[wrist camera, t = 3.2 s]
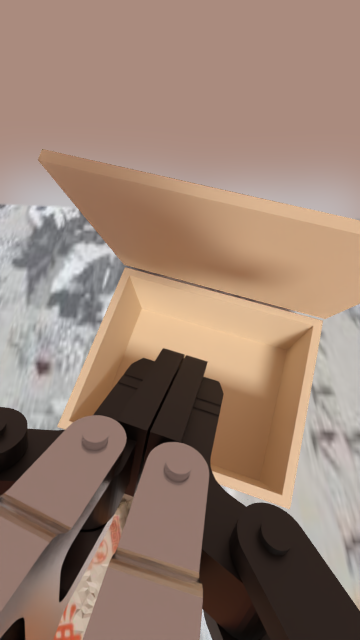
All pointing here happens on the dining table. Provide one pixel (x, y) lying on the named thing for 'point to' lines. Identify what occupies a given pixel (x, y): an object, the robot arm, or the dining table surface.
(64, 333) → the dining table surface
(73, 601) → the packaged product
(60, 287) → the dining table surface
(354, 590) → the dining table surface
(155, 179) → the lid
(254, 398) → the mailer box
